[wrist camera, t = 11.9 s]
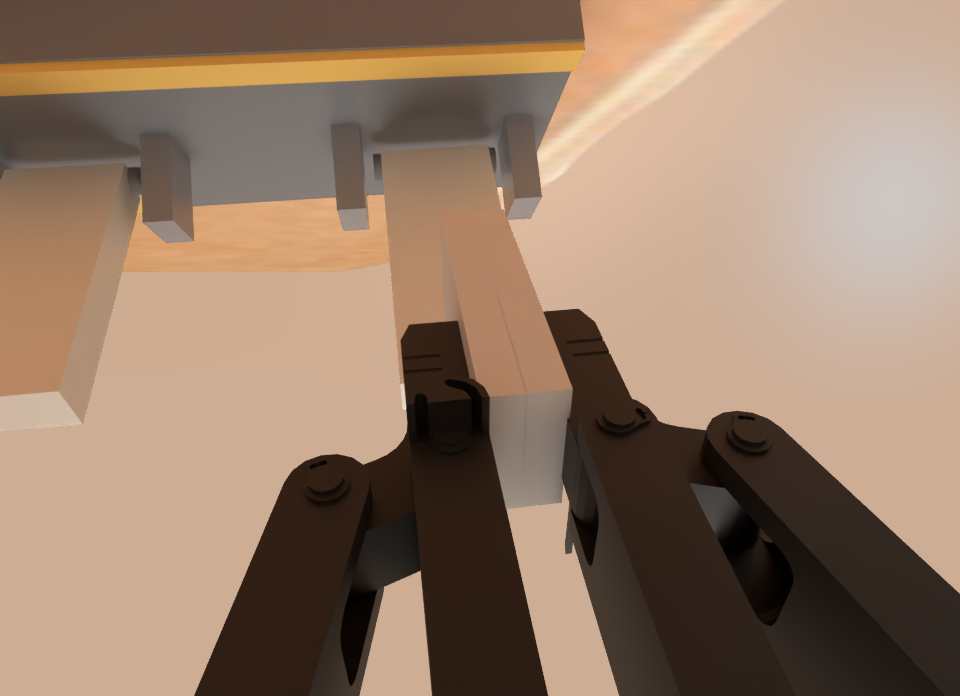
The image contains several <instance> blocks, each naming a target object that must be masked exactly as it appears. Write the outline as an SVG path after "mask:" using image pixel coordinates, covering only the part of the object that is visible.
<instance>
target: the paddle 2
mask: <svg viewBox="0 0 960 696" xmlns="http://www.w3.org/2000/svg"><path fill="white" fill-rule="evenodd" d="M373 163H374V174H375V181H383V185H384V197H385V209H386V221H387V232H388V244H389V256H390V267H391V279H392V291H393V303H394V315H395V327H396V338H397V350H398V362H399V373H400V385H401V395H402V406H403V410H406V399H405V388H404V377H403V365H402V354H401V342H400V340H401V338H402V336H403V335H404V333H405V331H406V329H407V328H408V326H409V324H421V323H433V322H445V321H446V320H445V314H444V299H443V274H442V249H441V224H440V214H444V213H459V212H474V211H489V210H501V205H500V200H499V196H498V191H497V186H496V181H495V176H494V174H496V168H497V161H496V151H495V148H494V147H488V145H473V146H454V147H436V148H418V149H400V150H382V151H381V154H373Z"/></svg>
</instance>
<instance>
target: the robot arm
mask: <svg viewBox="0 0 960 696" xmlns="http://www.w3.org/2000/svg"><path fill="white" fill-rule="evenodd" d="M440 224H441V249H442V274H443V299H444V314H445V320H446V321H445V322H433V323H421V324H409V326H408V328H407V329H406V331H405V333H404V335H403V336H402V338H401V340H400V342H401V354H402V365H403V377H404V388H405V399H406V411H407V422H408V425H407V433H406V435H405V437H404V439H403V441H402V442H401V443H400V444H399V446H398V447H397V448H396V449H394V450H393V451H392V452H390V453H389V454H388V455H386V456H384V457H381V458H379V459H377V460H375V461H372V462H369V463H367V464H364V465H363V464H361V463H360V462H358V461H357V460H355V459H354V458H352V457H348V456H343V455H338V454H335V455H321V456H318V457H315V458H313V459H310V460H307V461H305V462H304V463H302V464H301V465H299V466H298V467H297V468H295V469H294V470H293V471H292V472H291V473H290V475H289V476H288V478H287V479H286V481H285V482H284V484H283V487H282V489H281V491H280V494H279V496H278V499H277V501H276V504H275V506H274V508H273V511H272V513H271V515H270V517H269V520H268V522H267V525H266V527H265V529H264V532H263V534H262V536H261V539H260V541H259V544H258V546H257V548H256V551H255V553H254V555H253V558H252V560H251V562H250V565H249V567H248V570H247V572H246V575H245V577H244V579H243V581H242V584H241V586H240V588H239V591H238V593H237V596H236V598H235V600H234V603H233V605H232V607H231V610H230V612H229V615H228V617H227V619H226V622H225V624H224V627H223V629H222V631H221V634H220V636H219V638H218V641H217V643H216V645H215V648H214V650H213V652H212V655H211V657H210V659H209V662H208V664H207V667H206V669H205V671H204V674H203V676H202V678H201V681H200V683H199V686H198V688H197V690H196V693H195V695H194V696H359V695H360V690H361V686H362V682H363V677H364V673H365V669H366V665H367V660H368V656H369V652H370V648H371V643H372V639H373V635H374V631H375V626H376V622H377V618H378V613H379V609H380V604H381V601H382V596H383V592H384V586H387V585H389V584H391V583H394V582H396V581H398V580H400V579H403V578H405V577H407V576H410V575H412V574H414V573H416V572H418V571H421V580H422V590H423V601H424V613H425V624H426V633H427V634H426V635H427V645H428V656H429V667H430V678H431V689H432V696H548V693H547V689H546V684H545V680H544V675H543V671H542V666H541V662H540V658H539V653H538V649H537V644H536V640H535V635H534V631H533V627H532V622H531V617H530V613H529V609H528V604H527V599H526V595H525V591H524V586H523V582H522V577H521V573H520V569H519V564H518V560H517V555H516V550H515V546H514V542H513V537H512V533H511V528H510V524H509V519H508V515H507V510H506V509H510V508H518V507H526V506H536V505H545V504H553V503H561V501H562V491H563V484H564V487H565V490H566V493H567V496H568V499H569V512H568V521H567V530H566V539H565V551H566V554H569V553H572V545H573V543H574V546H575V550H576V553H577V556H578V559H579V563H580V566H581V570H582V573H583V576H584V579H585V583H586V586H587V590H588V593H589V596H590V600H591V603H592V606H593V609H594V613H595V616H596V619H597V623H598V626H599V630H600V633H601V636H602V640H603V643H604V646H605V649H606V653H607V656H608V659H609V663H610V666H611V669H612V673H613V676H614V680H615V683H616V686H617V690H618V693H619V696H960V594H959V593H958V592H957V591H956V590H955V589H954V588H953V587H952V586H951V585H950V584H948V583H947V582H946V581H945V580H944V579H943V578H942V577H941V576H940V575H939V574H938V573H937V572H936V571H935V570H933V569H932V568H931V567H930V566H929V565H928V564H927V563H926V562H925V561H924V560H923V559H922V558H921V557H919V556H918V555H917V554H916V553H915V552H914V551H913V550H912V549H911V548H910V547H909V546H908V545H906V543H904V542H903V541H902V540H901V539H900V538H899V537H898V536H897V535H896V534H895V533H894V532H893V531H892V530H890V529H889V528H888V527H887V526H886V525H885V524H884V523H883V522H882V521H881V520H880V519H879V518H878V517H876V516H875V515H874V514H873V513H872V512H871V511H870V510H869V509H868V508H867V507H866V506H865V505H863V504H862V503H861V502H860V501H859V500H858V499H857V498H856V497H855V496H854V495H853V494H852V493H851V492H850V491H849V490H847V489H846V488H845V487H844V486H843V485H842V484H841V483H840V482H839V481H838V480H837V479H836V478H835V477H833V476H832V475H831V474H830V473H829V472H828V471H827V470H826V469H825V468H824V467H823V466H822V465H821V464H819V463H818V462H817V461H816V460H815V459H814V458H813V457H812V456H811V455H810V454H809V453H808V452H807V451H805V450H804V449H803V448H802V447H801V446H800V445H799V444H798V443H797V442H796V441H795V440H794V439H792V437H790V436H789V435H788V434H787V433H786V432H785V431H784V430H783V429H782V428H781V427H779V426H778V425H776V424H775V423H774V422H772V421H771V420H769V419H767V418H765V417H762V416H759V415H757V414H754V413H749V412H742V411H733V412H725V413H722V414H720V415H718V416H716V417H714V418H713V419H712V420H711V422H710V423H709V425H708V427H707V430H699V429H691V428H684V427H677V426H673V425H668V424H665V423H662V422H659V421H658V420H657V418H656V416H655V415H654V414H653V413H652V411H651V410H650V409H649V408H648V407H647V406H645V405H643V404H642V403H640V402H638V401H637V400H634V399H632V398H631V396H630V394H629V392H628V390H627V388H626V386H625V383H624V381H623V379H622V377H621V375H620V373H619V371H618V369H617V367H616V365H615V363H614V361H613V359H612V357H611V354H609V350H608V348H607V346H606V344H605V342H604V341H603V338H602V336H601V334H600V332H599V329H598V327H597V325H596V323H595V322H594V321H593V320H592V319H591V318H589V317H588V316H587V315H585V314H584V313H583V312H582V311H581V310H579V309H570V310H559V311H546V312H543V310H542V308H541V305H540V302H539V300H538V297H537V295H536V292H535V290H534V287H533V284H532V282H531V279H530V277H529V274H528V271H527V269H526V266H525V264H524V261H523V258H522V256H521V253H520V250H519V248H518V246H517V243H516V241H515V238H514V235H513V232H512V230H511V227H510V225H509V222H508V219H507V217H506V214H505V212H504V210H489V211H474V212H459V213H444V214H440Z"/></svg>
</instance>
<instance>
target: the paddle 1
mask: <svg viewBox="0 0 960 696" xmlns="http://www.w3.org/2000/svg"><path fill="white" fill-rule="evenodd" d="M139 195H142V190H141V167H128V168H127V166H126V164H125V163H118V164H100V165H82V166H64V167H45V168H27V169H9V170H4V172H3V175H1V176H0V432H6V431H17V430H28V429H38V428H49V427H60V426H69V425H81V424H83V422H84V417H85V414H86V410H87V406H88V402H89V398H90V394H91V390H92V387H93V383H94V379H95V375H96V371H97V367H98V363H99V359H100V355H101V351H102V348H103V343H104V339H105V336H106V332H107V328H108V324H109V320H110V316H111V312H112V309H113V304H114V301H115V297H116V293H117V289H118V285H119V281H120V277H121V273H122V270H123V266H124V262H125V258H126V254H127V250H128V246H129V242H130V238H131V234H132V231H133V227H134V223H135V219H136V215H137V211H138V207H139V203H140V197H139Z"/></svg>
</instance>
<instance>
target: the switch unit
mask: <svg viewBox="0 0 960 696" xmlns="http://www.w3.org/2000/svg"><path fill="white" fill-rule="evenodd" d="M584 40H585V38H584V30H583V23H582V15H581V7H580V0H0V176H1V175H3V172H4V170H9V169H27V168H45V167H64V166H82V165H100V164H118V163H125V164H126V166H127V168H128V167H141V190H142V195H139V197H140V203H139V207H138V211H137V213H142V217H143V223H144V224H145V225H146V226H147V227H149V228H150V229H151V230H152V231H153V232H154V233H156V234H157V235H158V236H159V237H160V238H161V239H163V240H164V241H165V242H166V243H174V242H189V241H194V230H193V209H192V206H204V205H220V204H236V203H252V202H269V201H285V200H301V199H317V198H333V197H336V201H337V211H338V214H339V218H340V221H341V224H342V228H343V231H352V230H367V229H369V218H368V206H367V195H381V194H384V185H383V181H375V174H374V163H373V154H381V151H382V150H400V149H418V148H436V147H454V146H473V145H488V147H494V148H495V151H496V161H497V168H496V174H494V176H495V181H496V186H497V187H502V188H503V197H504V206H505V214H506V217H507V219H508V220H513V219H514V220H515V219H530V218H531V217H532V215H533V213H534V211H535V209H536V207H537V205H538V203H539V201H540V200H541V198H542V195H541V186H540V177H539V169H538V160H537V150H538V148H539V146H540V143H541V141H542V139H543V136H544V134H545V132H546V129H547V127H548V124H549V122H550V120H551V117H552V115H553V113H554V110H555V108H556V106H557V103H558V101H559V99H560V96H561V94H562V91H563V89H564V87H565V84H566V82H567V80H568V77H569V75H570V73H571V71H576V70H577V68H578V65H579V63H580V61H581V58H582V56H583V54H584V51H585V46H584Z"/></svg>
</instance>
